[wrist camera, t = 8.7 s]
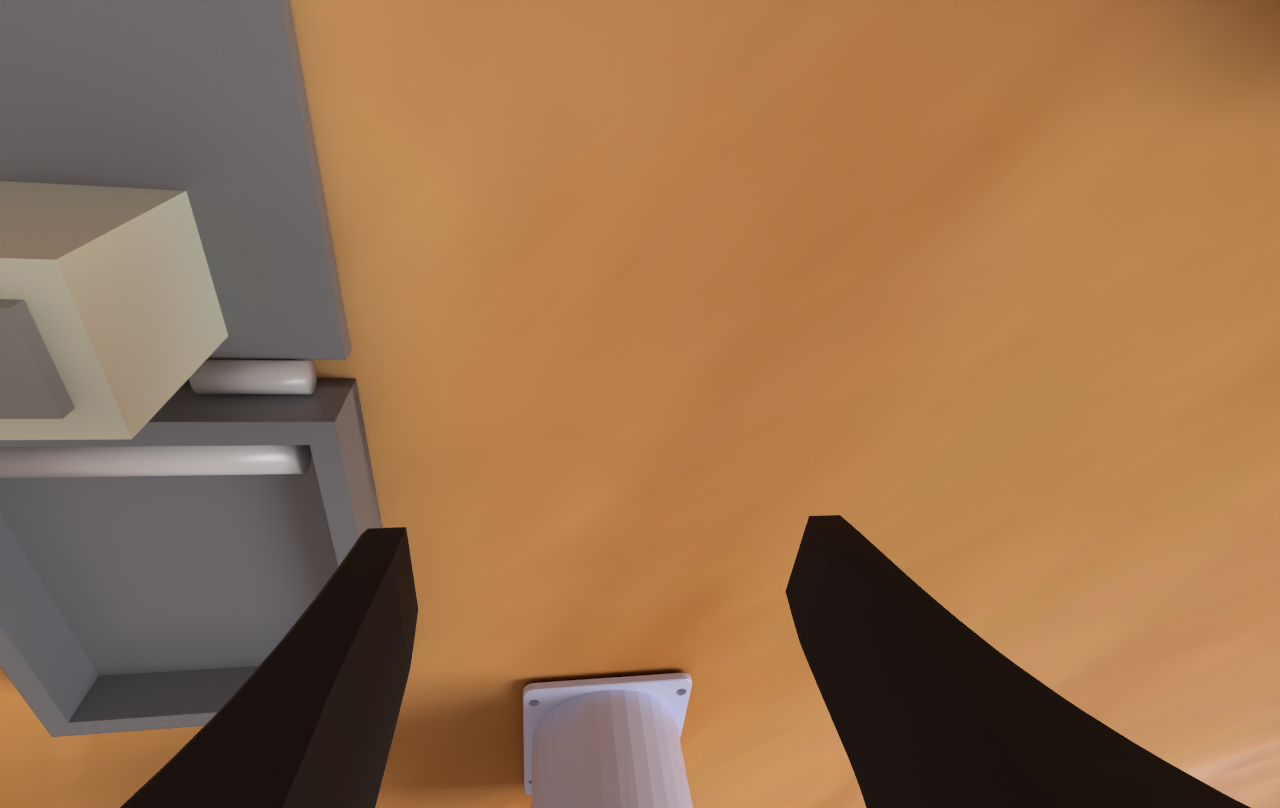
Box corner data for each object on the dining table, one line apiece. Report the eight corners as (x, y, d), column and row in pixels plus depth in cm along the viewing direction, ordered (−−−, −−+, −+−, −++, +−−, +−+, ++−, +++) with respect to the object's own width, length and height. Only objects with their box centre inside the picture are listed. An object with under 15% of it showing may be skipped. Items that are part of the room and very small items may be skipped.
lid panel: (355, 379, 19) (345, 400, 18) (-97, 374, 17) (-139, 399, 16) (279, -56, 14) (256, -61, 13) (-413, -135, 12) (-511, -149, 11)
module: (228, 336, 18) (121, 450, 13) (67, 333, 17) (-104, 452, 12) (186, 190, 15) (41, 268, 11) (0, 180, 15) (-236, 258, 10)
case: (405, 659, 27) (394, 711, 25) (91, 678, 25) (52, 737, 23) (355, 379, 19) (334, 421, 17) (-97, 374, 17) (-180, 422, 15)
